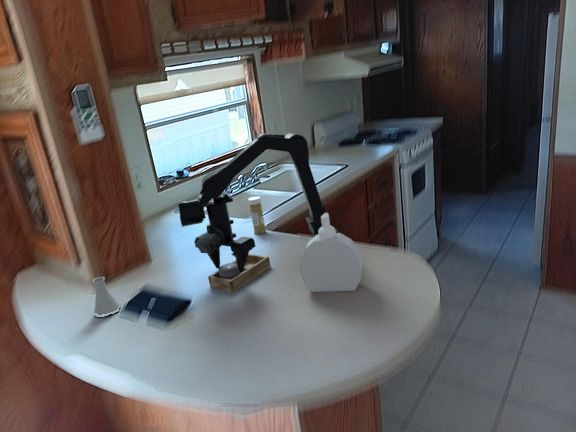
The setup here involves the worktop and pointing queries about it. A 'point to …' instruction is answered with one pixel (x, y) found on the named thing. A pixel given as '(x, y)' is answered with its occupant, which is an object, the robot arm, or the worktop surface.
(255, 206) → the sprinkles bottle
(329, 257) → the soap bottle
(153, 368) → the worktop surface
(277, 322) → the worktop surface
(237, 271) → the lid
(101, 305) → the flask
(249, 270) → the holder
